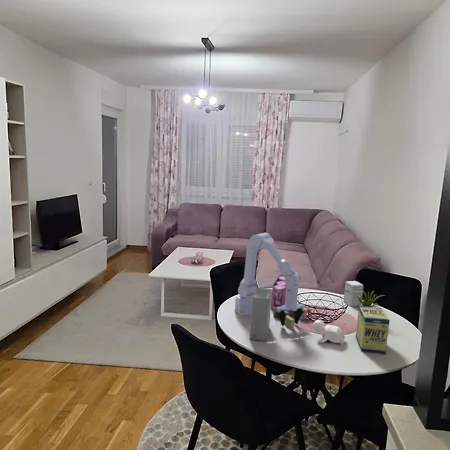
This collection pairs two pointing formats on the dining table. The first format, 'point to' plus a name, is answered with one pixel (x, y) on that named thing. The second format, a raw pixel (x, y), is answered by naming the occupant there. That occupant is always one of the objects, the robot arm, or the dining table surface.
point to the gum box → (278, 292)
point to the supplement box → (352, 293)
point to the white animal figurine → (329, 332)
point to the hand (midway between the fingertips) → (289, 324)
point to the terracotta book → (305, 313)
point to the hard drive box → (260, 314)
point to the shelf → (291, 313)
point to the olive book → (289, 322)
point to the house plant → (369, 300)
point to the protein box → (372, 329)
